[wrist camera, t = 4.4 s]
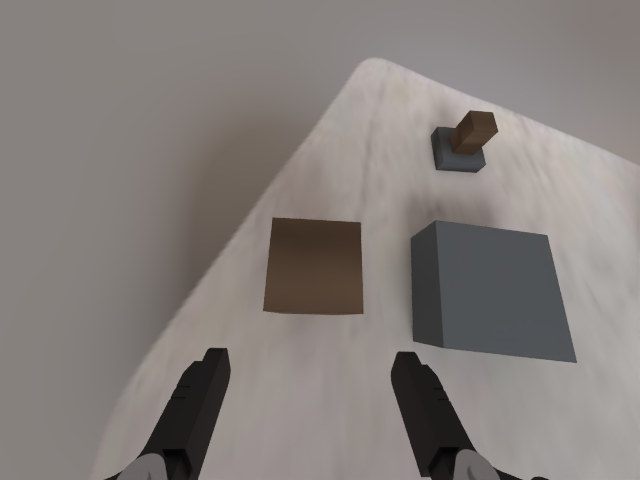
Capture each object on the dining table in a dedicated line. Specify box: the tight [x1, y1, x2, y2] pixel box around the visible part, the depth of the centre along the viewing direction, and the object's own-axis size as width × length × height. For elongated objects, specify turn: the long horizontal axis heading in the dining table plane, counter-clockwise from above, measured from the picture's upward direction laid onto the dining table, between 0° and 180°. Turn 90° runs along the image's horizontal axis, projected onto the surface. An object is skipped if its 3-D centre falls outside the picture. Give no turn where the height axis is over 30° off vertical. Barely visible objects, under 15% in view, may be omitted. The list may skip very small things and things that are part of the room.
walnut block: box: [263, 218, 364, 315], centre depth 17 cm, size 5×5×10 cm
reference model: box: [431, 110, 498, 173], centre depth 26 cm, size 5×5×5 cm
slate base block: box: [411, 220, 577, 363], centre depth 20 cm, size 10×10×5 cm
